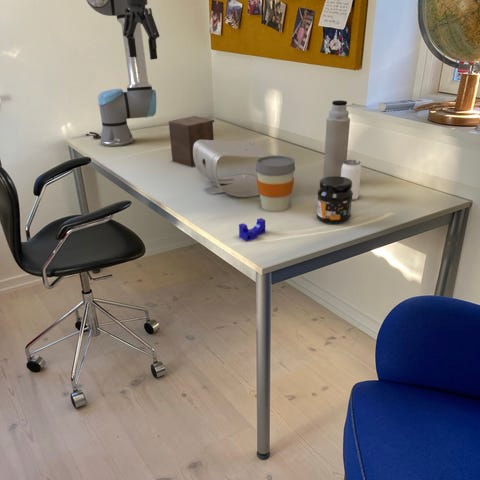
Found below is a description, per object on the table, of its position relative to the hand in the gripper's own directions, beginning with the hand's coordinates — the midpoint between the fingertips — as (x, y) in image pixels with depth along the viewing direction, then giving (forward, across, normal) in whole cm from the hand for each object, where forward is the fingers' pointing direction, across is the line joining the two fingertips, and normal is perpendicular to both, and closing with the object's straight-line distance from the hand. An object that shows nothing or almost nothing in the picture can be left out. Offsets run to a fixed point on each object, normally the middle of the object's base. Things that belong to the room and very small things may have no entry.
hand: (143, 58), depth 199 cm
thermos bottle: (+40, -73, -28) cm, 88 cm away
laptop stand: (+40, -50, 0) cm, 64 cm away
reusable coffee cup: (+40, -74, +5) cm, 84 cm away
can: (+40, -87, -18) cm, 97 cm away
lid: (+24, -11, -12) cm, 29 cm away
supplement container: (+40, -95, +1) cm, 103 cm away
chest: (+40, -11, -12) cm, 43 cm away
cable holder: (+40, -86, +27) cm, 99 cm away
